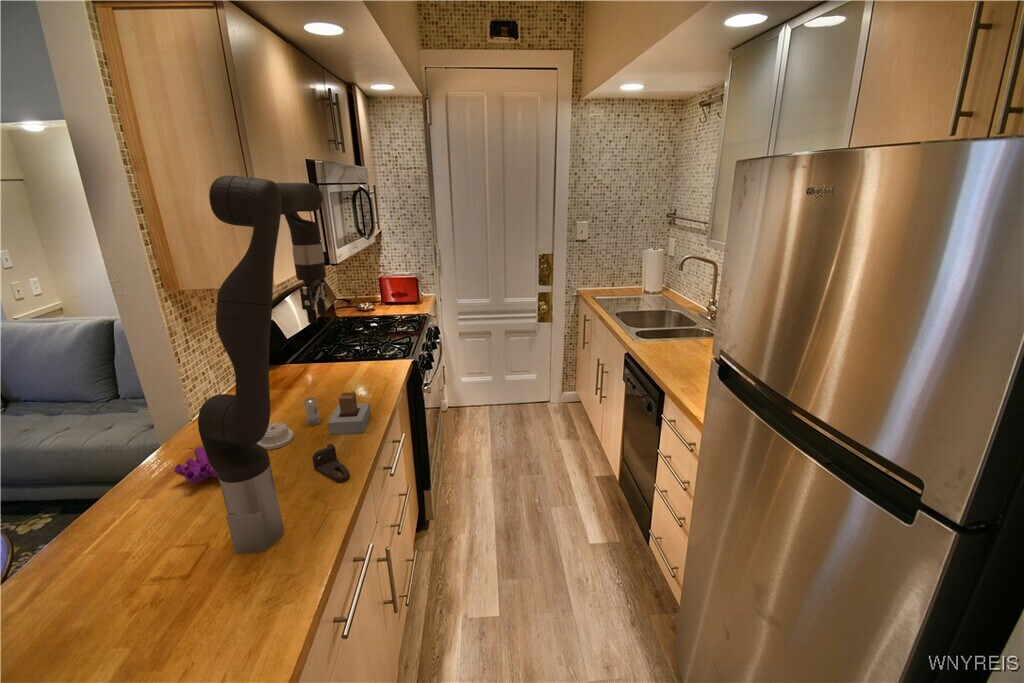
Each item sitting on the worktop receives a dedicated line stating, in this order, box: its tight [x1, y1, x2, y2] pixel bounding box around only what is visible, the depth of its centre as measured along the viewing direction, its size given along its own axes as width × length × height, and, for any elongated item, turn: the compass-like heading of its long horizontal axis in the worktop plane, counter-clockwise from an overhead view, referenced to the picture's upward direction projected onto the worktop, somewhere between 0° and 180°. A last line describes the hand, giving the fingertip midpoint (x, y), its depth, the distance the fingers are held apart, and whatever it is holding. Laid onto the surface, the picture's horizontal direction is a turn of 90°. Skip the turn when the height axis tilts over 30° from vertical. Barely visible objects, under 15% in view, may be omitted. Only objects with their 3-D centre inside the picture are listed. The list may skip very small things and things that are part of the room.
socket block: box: [327, 402, 372, 435], centre depth 141 cm, size 12×10×4 cm
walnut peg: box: [338, 391, 358, 417], centre depth 140 cm, size 4×4×10 cm
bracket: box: [312, 443, 351, 484], centre depth 117 cm, size 6×12×5 cm, turn 41°
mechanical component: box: [257, 421, 295, 451], centre depth 132 cm, size 10×4×10 cm
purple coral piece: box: [173, 446, 218, 484], centre depth 115 cm, size 11×15×10 cm
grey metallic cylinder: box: [303, 397, 321, 426], centre depth 141 cm, size 4×4×8 cm
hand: (317, 318), depth 126 cm, fingers open, 8 cm apart
